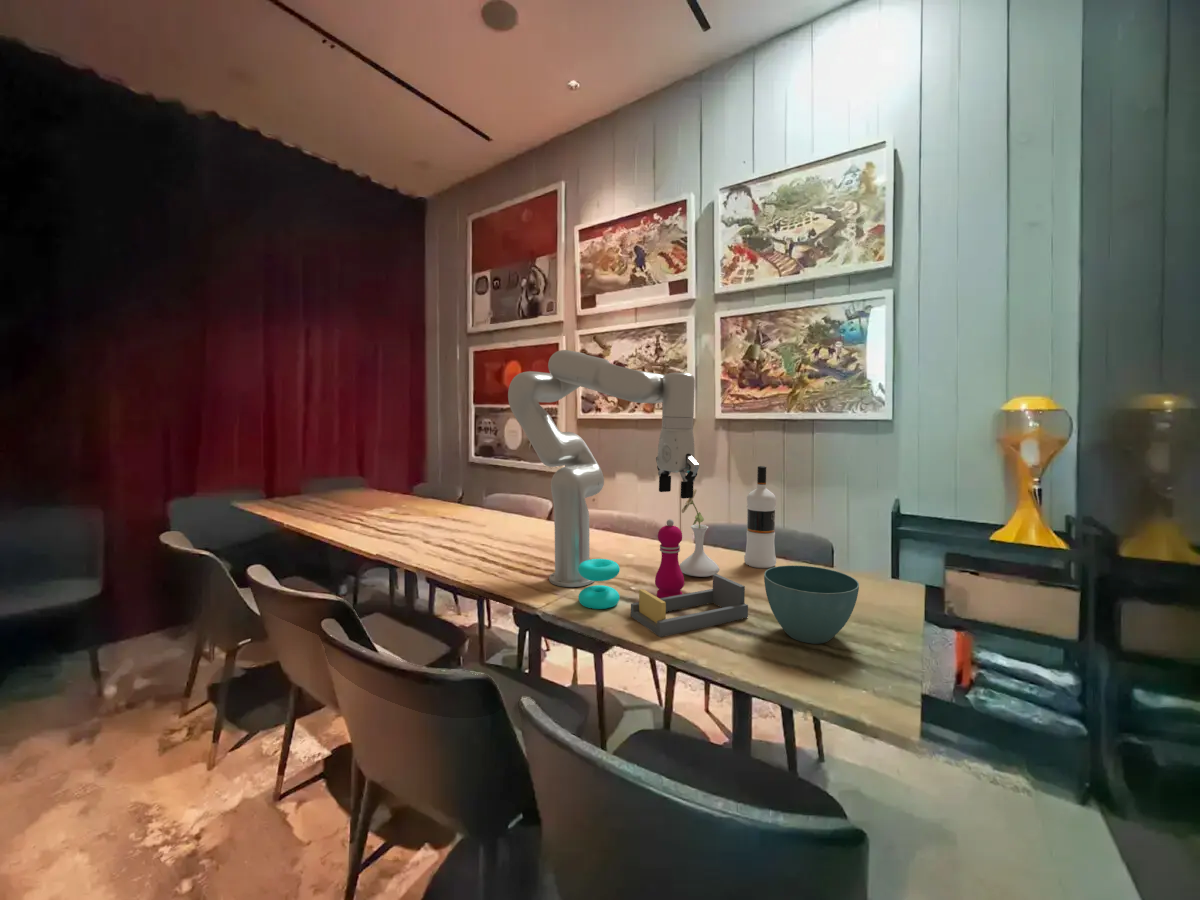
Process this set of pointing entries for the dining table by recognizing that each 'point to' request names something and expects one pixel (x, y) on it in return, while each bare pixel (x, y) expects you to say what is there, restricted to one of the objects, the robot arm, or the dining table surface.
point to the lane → (721, 594)
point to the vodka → (760, 525)
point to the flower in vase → (698, 550)
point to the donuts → (599, 593)
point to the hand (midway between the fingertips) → (675, 494)
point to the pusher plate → (651, 606)
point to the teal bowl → (810, 601)
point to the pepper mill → (669, 562)
